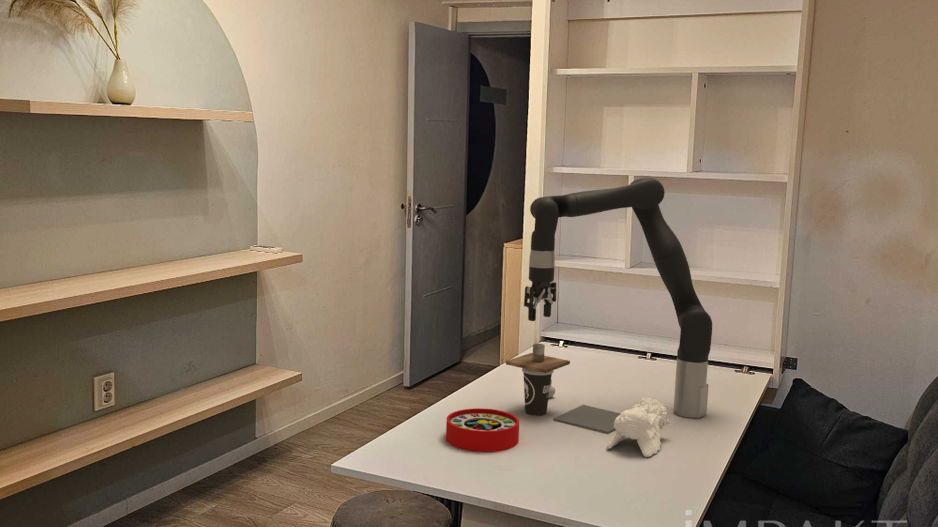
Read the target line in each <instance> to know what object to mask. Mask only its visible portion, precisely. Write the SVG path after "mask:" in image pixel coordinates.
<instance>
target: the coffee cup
mask: <svg viewBox="0 0 938 527" xmlns="http://www.w3.org/2000/svg"><path fill="white" fill-rule="evenodd" d="M521 371H522V373H523V387H524V388H523V389H524V390H523V391H524V392H523V394H524V412H525V414H527V415H529V416H535V417H536V416H544V415H546V414H547V412H548V405H549V404H548V403H549V390H550V383H551V380H552V375H553V373H554V371H555V370H553V371H550V372H547V373H543V372H538V371H534V370H529V369H524V368H521Z"/></svg>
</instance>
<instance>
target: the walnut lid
mask: <svg viewBox="0 0 938 527" xmlns="http://www.w3.org/2000/svg"><path fill="white" fill-rule="evenodd" d="M545 345H546V344H544V343H537V342H536V343H533V344H532V352H529V353H526V354H524V355H521V356H518V357H515V358H512V359H509V360H506V361H505V365H507V366H512V367H515V368H516V367H517V368H521V369H522V368H524V369H529V370H534V371H538V372H543V373H547V372H550V371H555V370H558V369H560V368H564V367H565V366H569V365H570V364H571V361H570V360H568V359H562V358H559V357H558V358H557V357H554V356H549V355H548V356H547V355H545Z"/></svg>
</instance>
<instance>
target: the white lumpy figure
mask: <svg viewBox="0 0 938 527" xmlns="http://www.w3.org/2000/svg"><path fill="white" fill-rule="evenodd" d="M667 411H668V409H667V407H666V406H664V404H662V403H661V402H659V401H658V400H657V399H652V398H651V397H647V398H645V397H641V398H640V399H639V400H638V402H637V403H635V404H633V405H632V407H631V408H629V409H625V410H623V411H621V412H620V413H621V414H620V416H618V417H616V419H615V421H614V429H616V430H614V431H615V434H614V435H613V436H612V437H611V439H610V440H609V442H608V443H607V445H606V449H609V450H610V449H612V448H613V447H615V446H616V445H617V444H619V443H620V442H621V441H623V440H625V439H626V438H627V439H628V438H629V439H631V440H636V441H637V445H638V447H639V448H640V451H641V454H642V455H643V457H645V458H649V457H651V456H652V455H655V454H657V453H658V451H659V450H660V448H661V447H660V446H661V435H660V433H661V430H663V429H664V428H665V427H666V426H667V425H670V422H671V421H670V419H669V418H668V412H667Z"/></svg>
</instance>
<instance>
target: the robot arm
mask: <svg viewBox="0 0 938 527" xmlns="http://www.w3.org/2000/svg"><path fill="white" fill-rule="evenodd" d="M665 193H666V192H665V188H664V186H663V184H662V183H661V181H659V180H658V179H656V178H652V177H643V178H638V179H635V180H633V181H632V182H630V184H627V185H623V186H619V187H612V188H604V189H593V190H583V191H578V192H571V193H567V194H562V195H559V194H558V195H547V196H541V197H540V196H539V197H537V198H536V199H534V200H533V201H532V202H531V204H530V208H529V211H530V214H531V216H532V218H534V219H535V220H534V230H533V231H532V233H531V238H530V253H529V261H528V262H529V263H528V264H529V265H528V280H529V282H531V286H525V287H524V297H523V298H524V299H523V300H524V301H523V307H526V308H527V310H528V312H527V313H528V315H527V319H528V321H529V322H535V321H536V320H537V306H538V304H539V303H541V300H542V301H543V303H544V304H543V316H544V317H546V318H550V317H551V316H552V305H553V303H554V302H555V303H556V302H557V282H554V281H555V266H556V264H555V263H556V256H555V248H556V246H555V245H556V237H555V236H556V231H557V228H558V227H557V226H558V222H559V218H564V217H565V218H566V217H567V218H575V217H582V216H583V217H584V216H588V215H594V214H598V213H602V212H608V211H612V210H618V209H626V208H631V209H632V211H633V213H634V214H635V216H636V218H637V220H638V222H639V224H640V227H641V229H642V232H643V233H644V237H645V240H646V243H647V245H648V248H649V251H650V253H651V256H652V259H653V261H654V264H655V266H656V269H657V272H658V274H659V276H660V278H661V281H662V282H663V284H664V286H665V288H666V289H667V291H668V293H669V295H670V298H671V301H672V304H673V306H674V307H673V308H674V311H675V313H676V314H675V315H676V318H677V323H678V326H679V327H680V332H679V333H680V334H679V335H680V336H679V345H678V349H677V350H676V351H677V353H676V354H677V355H676V368H675V369H676V370H675V381H674V395H673V396H674V397H673V408H672V409H673V411H672V412H673V413H674V414H675V415H677V416H679V417H683V418H693V419H695V418H696V419H701V418H703V417H704V416H706V415H707V413H708V412H707V411H708V402H709V400H708V398H709V386H710V385H709V384H708V383H707V380H708V379H707V378H708V366H709V355H710V352H711V346H712V336H713V321H712V318H711V315H709V312H707V311H706V310H705V308H704V307H703V305H702V303H701V301H700V299H699V297H698V295H697V293H696V290H695V288H694V285H693V281H692V274H691V269H690V265H689V262H688V260H687V256H686V254H685V251H684V249H683V246H682V244H681V241H680V240H679V238H678V237H677V235H676V234H675V233H674V231H673V230H672V228H671V227H670V226H669V224H668V223H667V222H666V220H665V218H664V216H663V214H662V212H661V208H660V204H661V203H662V201H663V200H664V198H665V195H666V194H665Z"/></svg>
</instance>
